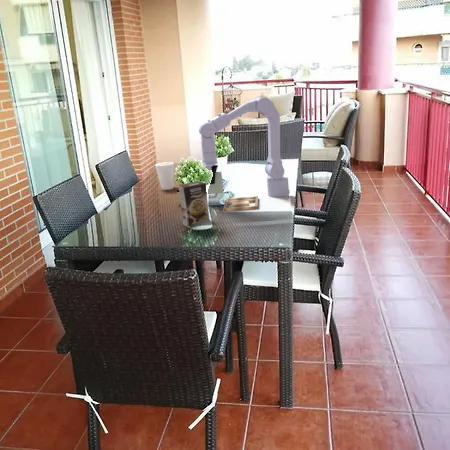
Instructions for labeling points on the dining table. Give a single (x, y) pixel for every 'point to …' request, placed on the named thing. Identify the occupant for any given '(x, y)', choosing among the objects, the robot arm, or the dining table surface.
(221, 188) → the pale green slab
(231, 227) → the dining table surface
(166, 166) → the foam cup
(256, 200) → the rack
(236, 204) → the offcut upper
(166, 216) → the dining table surface
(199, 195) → the brown cookie box
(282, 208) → the dining table surface
